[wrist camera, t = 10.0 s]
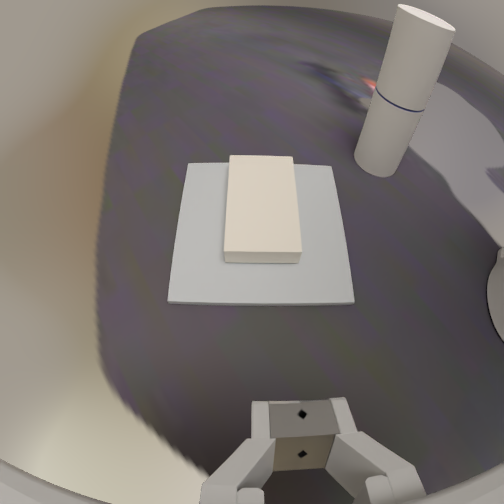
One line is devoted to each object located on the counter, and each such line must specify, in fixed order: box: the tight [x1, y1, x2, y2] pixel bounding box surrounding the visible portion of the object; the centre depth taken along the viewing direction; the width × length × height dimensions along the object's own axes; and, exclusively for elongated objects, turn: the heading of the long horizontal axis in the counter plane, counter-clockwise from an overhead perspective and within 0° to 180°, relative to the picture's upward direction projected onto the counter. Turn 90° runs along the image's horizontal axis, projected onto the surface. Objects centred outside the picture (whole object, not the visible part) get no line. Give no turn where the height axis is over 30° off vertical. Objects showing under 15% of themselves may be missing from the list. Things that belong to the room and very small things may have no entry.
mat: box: [168, 163, 354, 306], centre depth 37 cm, size 20×20×1 cm
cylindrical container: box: [354, 4, 455, 177], centre depth 33 cm, size 7×7×25 cm
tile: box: [224, 155, 302, 263], centre depth 36 cm, size 8×3×14 cm
